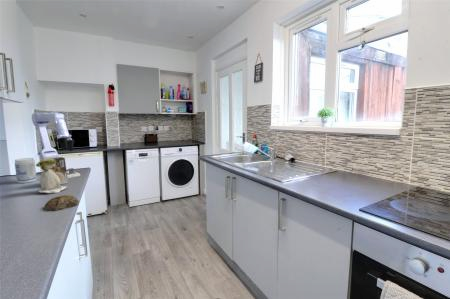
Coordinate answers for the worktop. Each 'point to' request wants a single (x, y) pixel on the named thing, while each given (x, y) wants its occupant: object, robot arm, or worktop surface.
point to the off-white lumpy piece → (49, 177)
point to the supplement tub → (25, 170)
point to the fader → (71, 170)
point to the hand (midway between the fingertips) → (68, 150)
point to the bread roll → (61, 203)
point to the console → (72, 174)
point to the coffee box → (60, 170)
